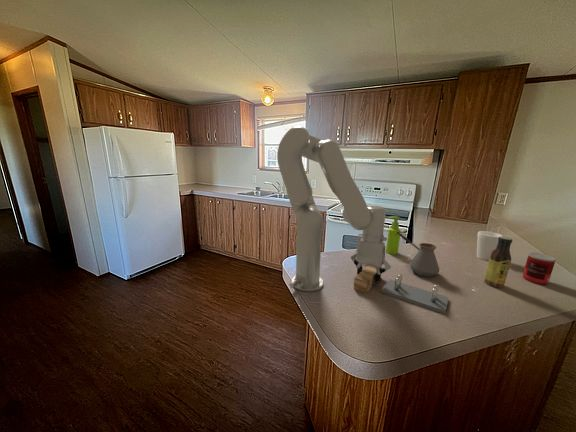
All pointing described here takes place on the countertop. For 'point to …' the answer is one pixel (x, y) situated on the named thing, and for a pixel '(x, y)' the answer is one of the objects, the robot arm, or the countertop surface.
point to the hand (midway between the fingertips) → (368, 278)
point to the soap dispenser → (393, 237)
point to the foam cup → (486, 244)
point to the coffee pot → (424, 259)
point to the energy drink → (358, 241)
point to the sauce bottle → (499, 263)
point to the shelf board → (365, 279)
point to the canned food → (538, 268)
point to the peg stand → (417, 295)
